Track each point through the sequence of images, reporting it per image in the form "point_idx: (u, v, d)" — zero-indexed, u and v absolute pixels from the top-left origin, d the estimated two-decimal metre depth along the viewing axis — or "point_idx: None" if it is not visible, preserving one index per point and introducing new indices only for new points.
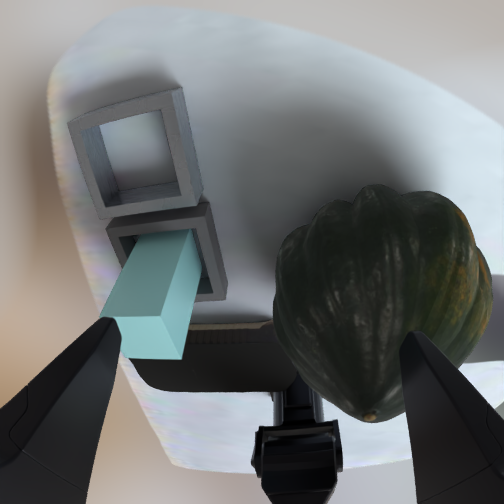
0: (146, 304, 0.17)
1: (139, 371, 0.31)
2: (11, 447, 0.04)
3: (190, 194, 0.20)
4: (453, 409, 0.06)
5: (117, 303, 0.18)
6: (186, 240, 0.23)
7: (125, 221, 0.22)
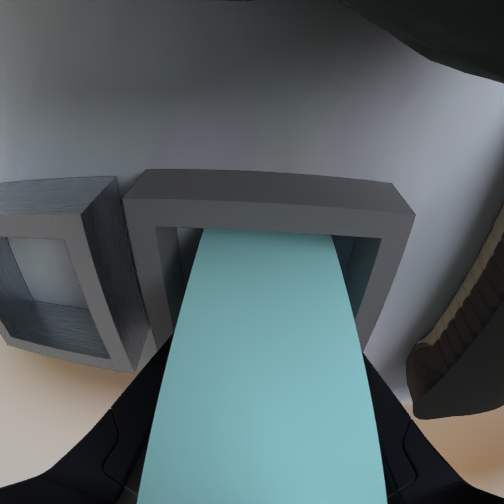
0: None
1: (467, 413, 0.13)
2: (109, 485, 0.04)
3: (61, 221, 0.08)
4: None
5: None
6: (204, 250, 0.09)
7: None
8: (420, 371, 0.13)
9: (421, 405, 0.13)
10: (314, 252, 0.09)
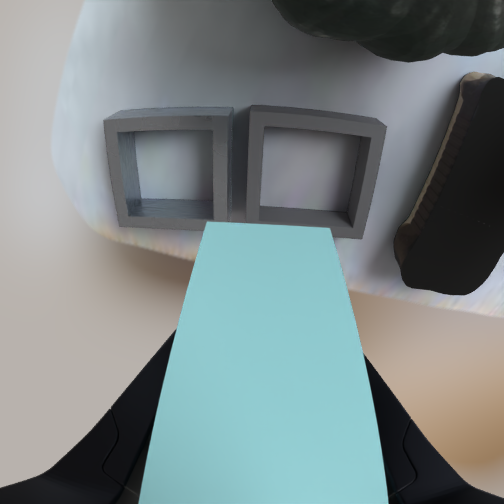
0: None
1: (443, 291, 0.21)
2: (109, 485, 0.04)
3: (213, 120, 0.16)
4: None
5: None
6: (205, 251, 0.09)
7: None
8: (403, 240, 0.21)
9: (406, 267, 0.21)
10: (315, 252, 0.09)
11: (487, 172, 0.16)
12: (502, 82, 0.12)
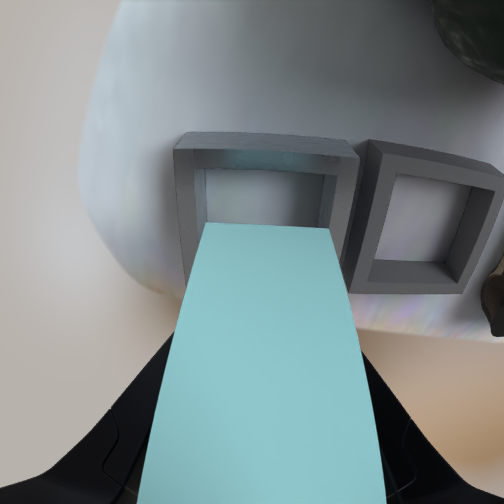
0: None
1: None
2: (109, 485, 0.04)
3: (339, 162, 0.12)
4: None
5: None
6: (204, 252, 0.09)
7: (351, 263, 0.16)
8: (495, 293, 0.17)
9: (496, 320, 0.17)
10: (314, 253, 0.09)
11: None
12: None
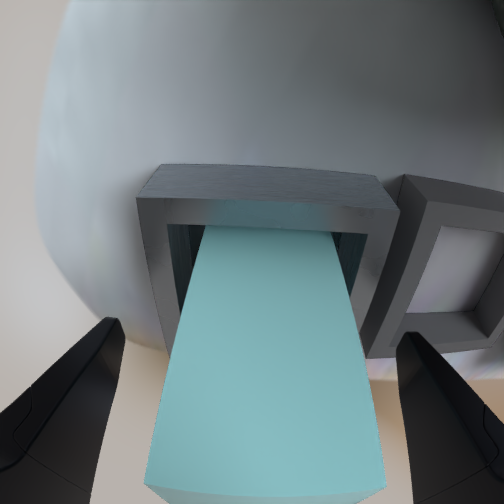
0: None
1: None
2: (14, 450, 0.04)
3: (371, 215, 0.08)
4: (449, 410, 0.06)
5: None
6: (210, 233, 0.10)
7: (372, 325, 0.13)
8: None
9: None
10: (311, 234, 0.10)
11: None
12: None
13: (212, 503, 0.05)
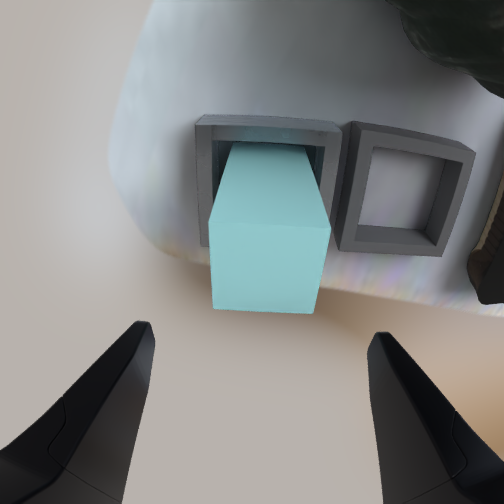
0: None
1: None
2: (51, 466, 0.04)
3: (326, 135, 0.15)
4: (415, 416, 0.06)
5: None
6: (234, 150, 0.16)
7: (341, 225, 0.19)
8: (477, 266, 0.20)
9: (481, 289, 0.20)
10: (294, 153, 0.17)
11: None
12: None
13: (239, 254, 0.11)
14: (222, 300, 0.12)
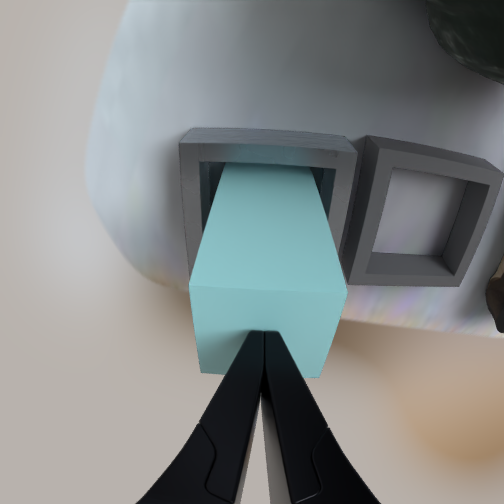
0: None
1: None
2: None
3: (337, 156, 0.12)
4: (274, 425, 0.06)
5: None
6: (227, 172, 0.14)
7: (350, 255, 0.17)
8: (496, 295, 0.18)
9: (500, 319, 0.18)
10: (298, 174, 0.14)
11: None
12: None
13: (230, 321, 0.09)
14: (211, 365, 0.10)
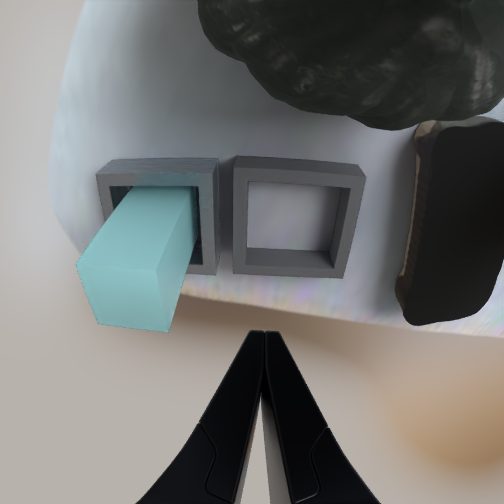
0: None
1: (450, 318, 0.23)
2: None
3: (198, 176, 0.18)
4: (274, 425, 0.06)
5: None
6: (131, 191, 0.19)
7: None
8: (400, 292, 0.23)
9: (408, 314, 0.23)
10: (180, 190, 0.19)
11: (459, 219, 0.18)
12: (452, 131, 0.15)
13: (101, 286, 0.14)
14: (101, 318, 0.15)
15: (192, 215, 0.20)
